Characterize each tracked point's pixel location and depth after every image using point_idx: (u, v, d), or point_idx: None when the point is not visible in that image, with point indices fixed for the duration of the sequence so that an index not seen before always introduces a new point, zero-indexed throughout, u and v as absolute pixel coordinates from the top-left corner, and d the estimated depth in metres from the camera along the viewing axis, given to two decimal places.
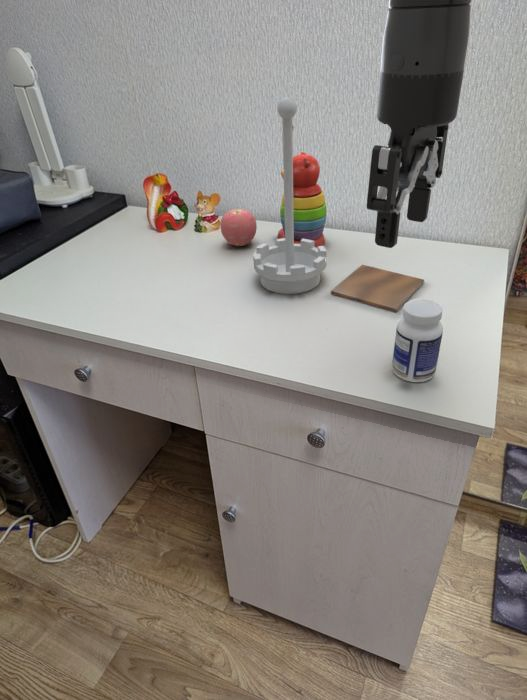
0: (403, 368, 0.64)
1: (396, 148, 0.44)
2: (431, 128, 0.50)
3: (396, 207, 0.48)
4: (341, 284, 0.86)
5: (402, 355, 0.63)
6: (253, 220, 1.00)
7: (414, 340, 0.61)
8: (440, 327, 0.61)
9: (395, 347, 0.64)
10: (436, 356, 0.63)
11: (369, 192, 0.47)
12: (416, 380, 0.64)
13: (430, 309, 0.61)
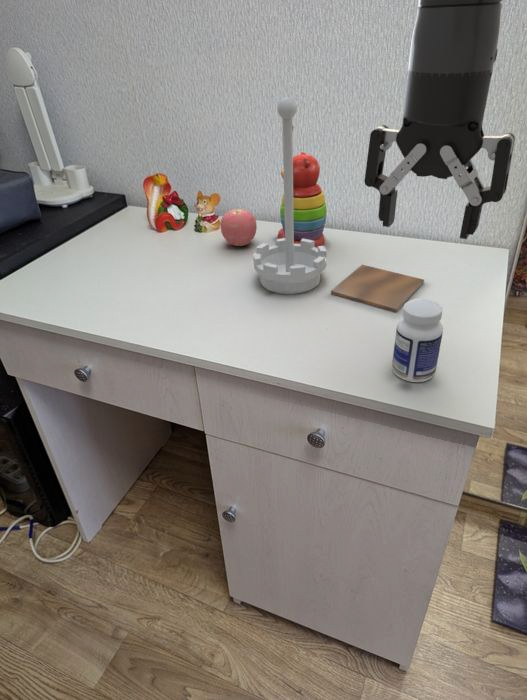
0: (403, 368, 0.64)
1: (375, 129, 0.51)
2: (456, 133, 0.48)
3: (380, 186, 0.54)
4: (341, 284, 0.86)
5: (402, 355, 0.63)
6: (253, 220, 1.00)
7: (414, 340, 0.61)
8: (440, 327, 0.61)
9: (395, 347, 0.64)
10: (436, 356, 0.63)
11: None
12: (416, 380, 0.64)
13: (430, 309, 0.61)
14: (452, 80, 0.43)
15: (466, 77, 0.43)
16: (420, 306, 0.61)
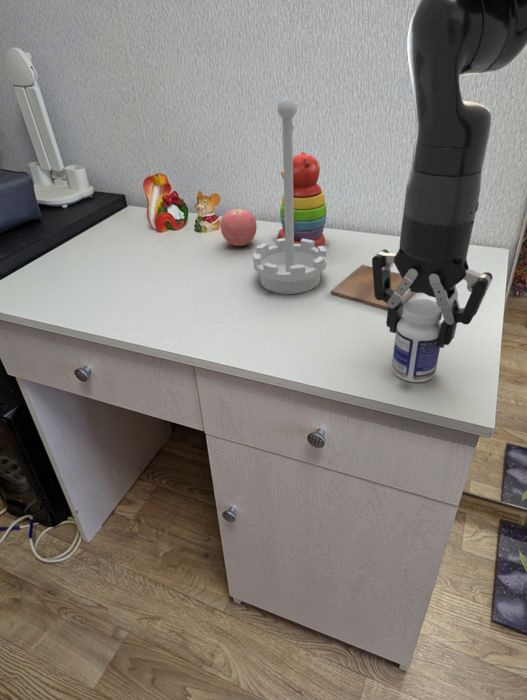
0: (403, 368, 0.64)
1: (375, 255, 0.60)
2: (443, 264, 0.56)
3: (387, 302, 0.62)
4: (341, 284, 0.86)
5: (402, 355, 0.63)
6: (253, 220, 1.00)
7: (414, 340, 0.61)
8: (440, 327, 0.61)
9: (395, 347, 0.64)
10: (436, 356, 0.63)
11: None
12: (416, 380, 0.64)
13: (430, 309, 0.61)
14: (436, 229, 0.51)
15: (448, 228, 0.51)
16: (420, 306, 0.61)
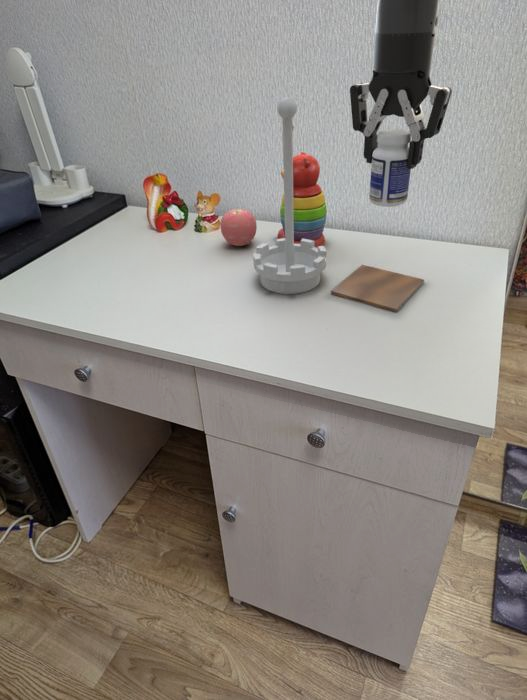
0: (377, 193, 0.73)
1: None
2: (409, 80, 0.64)
3: (364, 131, 0.71)
4: (341, 284, 0.86)
5: (377, 179, 0.72)
6: (253, 220, 1.00)
7: (387, 161, 0.70)
8: None
9: (371, 175, 0.73)
10: (406, 180, 0.72)
11: None
12: (389, 203, 0.73)
13: (400, 133, 0.70)
14: (402, 38, 0.60)
15: (412, 36, 0.60)
16: (392, 132, 0.70)
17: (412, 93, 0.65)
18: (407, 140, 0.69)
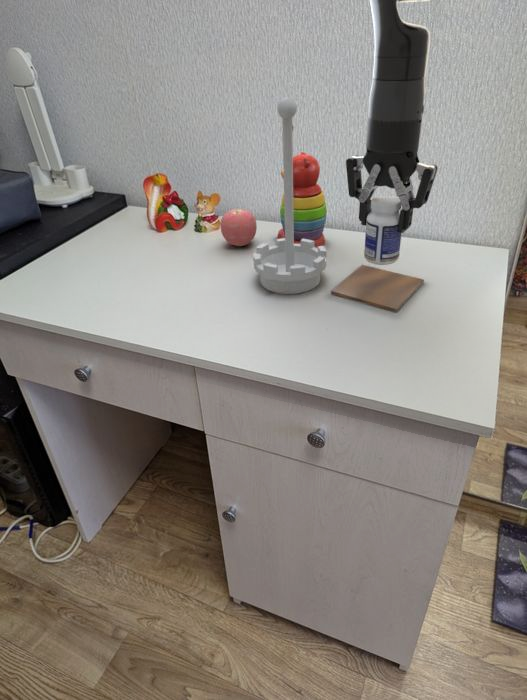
0: (371, 253, 0.80)
1: (348, 158, 0.76)
2: (399, 158, 0.71)
3: (359, 198, 0.78)
4: (341, 284, 0.86)
5: (371, 241, 0.79)
6: (253, 220, 1.00)
7: (379, 226, 0.77)
8: None
9: (366, 236, 0.80)
10: (398, 242, 0.79)
11: None
12: (382, 262, 0.80)
13: (392, 201, 0.77)
14: (391, 125, 0.67)
15: (400, 124, 0.67)
16: (384, 199, 0.77)
17: (402, 169, 0.72)
18: (398, 208, 0.76)
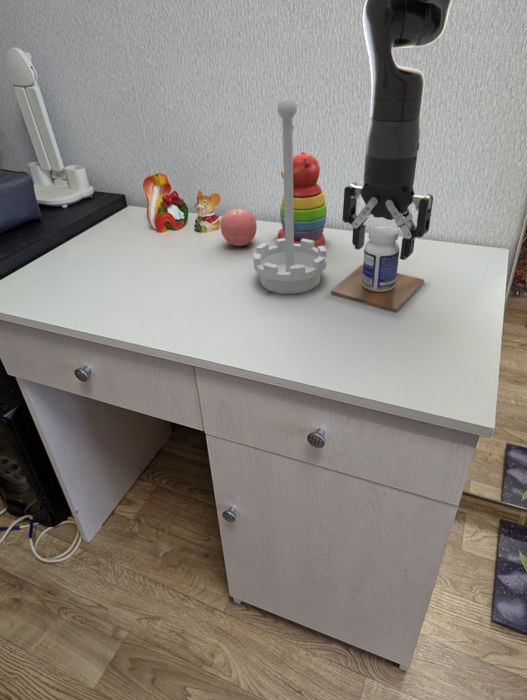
0: (369, 281, 0.83)
1: (347, 186, 0.79)
2: (395, 192, 0.74)
3: (352, 223, 0.81)
4: (341, 284, 0.86)
5: (369, 270, 0.82)
6: (253, 220, 1.00)
7: (377, 256, 0.80)
8: (397, 246, 0.80)
9: (363, 264, 0.83)
10: (394, 270, 0.82)
11: None
12: (379, 290, 0.83)
13: (389, 231, 0.79)
14: (388, 163, 0.70)
15: (396, 161, 0.70)
16: (381, 230, 0.80)
17: (398, 202, 0.75)
18: (394, 239, 0.79)
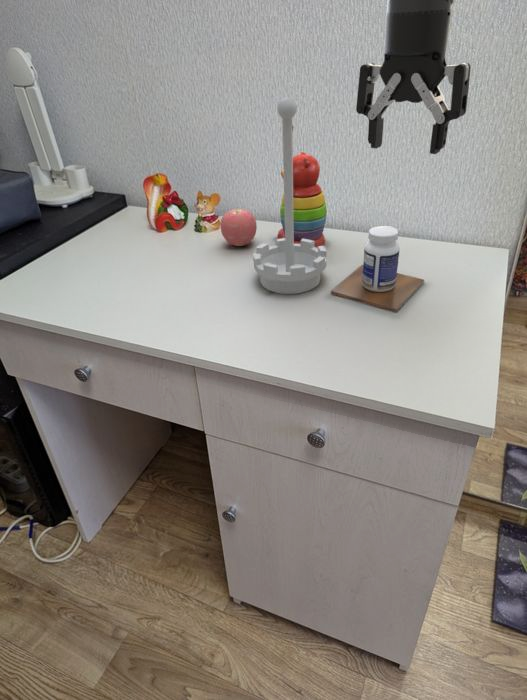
0: (369, 281, 0.83)
1: None
2: (424, 63, 0.61)
3: (368, 113, 0.68)
4: (341, 284, 0.86)
5: (369, 270, 0.82)
6: (253, 220, 1.00)
7: (377, 256, 0.80)
8: (397, 246, 0.80)
9: (363, 264, 0.83)
10: (394, 270, 0.82)
11: None
12: (379, 290, 0.83)
13: (389, 231, 0.79)
14: (415, 17, 0.57)
15: (426, 14, 0.56)
16: (381, 230, 0.80)
17: (426, 77, 0.61)
18: (394, 239, 0.79)
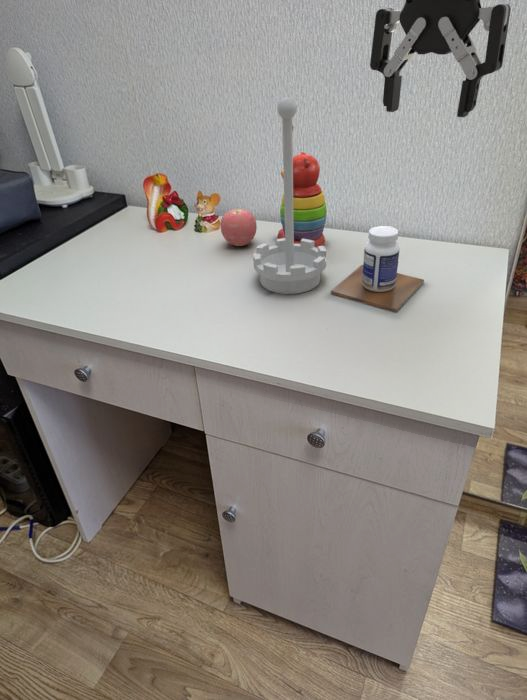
0: (369, 281, 0.83)
1: (380, 9, 0.55)
2: (454, 4, 0.51)
3: (384, 68, 0.57)
4: (341, 284, 0.86)
5: (369, 270, 0.82)
6: (253, 220, 1.00)
7: (377, 256, 0.80)
8: (397, 246, 0.80)
9: (363, 264, 0.83)
10: (394, 270, 0.82)
11: None
12: (379, 290, 0.83)
13: (389, 231, 0.79)
14: None
15: None
16: (381, 230, 0.80)
17: (457, 21, 0.51)
18: (394, 239, 0.79)
